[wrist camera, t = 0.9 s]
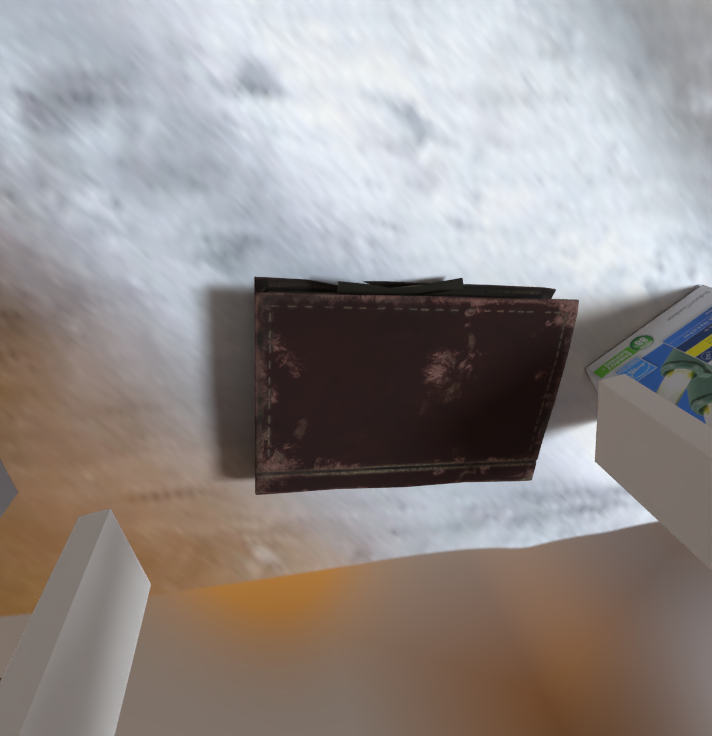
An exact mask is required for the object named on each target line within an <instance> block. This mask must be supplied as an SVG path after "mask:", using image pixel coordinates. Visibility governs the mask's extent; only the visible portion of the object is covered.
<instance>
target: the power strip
mask: <svg viewBox="0 0 712 736" xmlns="http://www.w3.org/2000/svg"><path fill="white" fill-rule="evenodd" d="M17 493H18V492H17V490H16V488H15V486H14V484H13V483H12V481H11V479H10V477H9V475H8V473H7V471H6V470H5V468H4V466H3V464H2V462H1V460H0V517H1V516H2V514H3V513H4V512H5V510H6V509H7V507H8V506H9V505H10V503H11V502H12V500H13V499H14V498H15V496H16V495H17Z"/></svg>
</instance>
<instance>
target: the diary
mask: <svg viewBox="0 0 712 736" xmlns="http://www.w3.org/2000/svg"><path fill="white" fill-rule="evenodd" d="M362 282H365V283H368V284H360V283H350V282H339V281H338V286H337V285H332V284H327V283H322V282H317V281H312V280H306V279H287V278H269V277H255V494H256V495H262V494H276V493H290V492H303V491H316V490H329V489H354V488H389V487H412V486H424V485H436V484H448V483H461V482H497V481H530V480H532V477H533V473H534V470H535V466H536V460H537V459H538V455H539V451H540V448H541V444H542V440H543V437H544V434H545V431H546V428H547V424H548V421H549V418H550V415H551V412H552V409H553V406H554V403H555V399H556V395H557V392H558V388H559V385H560V381H561V377H562V374H563V370H564V366H565V363H566V359H567V355H568V351H569V346H570V342H571V338H572V334H573V329H574V325H575V321H576V317H577V312H578V303H579V300H568V299H551V298H552V296H553V294H554V293H555V291H556V289H551V288H541V287H521V286H500V285H474V284H463V278H459V279H453V280H447V281H442V282H436V283H405V282H387V281H362ZM370 284H371V285H370Z"/></svg>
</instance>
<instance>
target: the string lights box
mask: <svg viewBox="0 0 712 736" xmlns="http://www.w3.org/2000/svg"><path fill="white" fill-rule="evenodd" d="M586 372H587V374H588V376H589V378H590V380H591V382H592V383H593V385H594V387H595V389H596V391H597V392H599V381H600V380H603V379H607V378H611V377H615V376H619V375H623V374H626V375H628V376H629V377H631V378H632V379H634V380H636V381H637V382H639V383H640V384H642V385H644V386H645V387H647V388H648V389H650V390H652V391H653V392H655V393H657V394H658V395H660V396H661V397H663V398H665V399H666V400H668V401H669V402H671V403H673V404H674V405H676V406H677V407H679V408H681V409H682V410H684V411H686V412H687V413H689V414H690V415H692V416H694V417H695V418H697V419H698V420H700V421H702V422H703V423H705V424H706V425H708V426H710V427H711V428H712V288H711V287H708V286H705V285H702V286H700V287H699V288H697V289H696V290H694V291H693V292H692V293H690V294H689V295H687V296H686V297H685V298H683V299H682V300H680V301H679V302H678V303H676V304H675V305H673V306H672V307H671V308H669V309H668V310H666V311H665V312H664V313H662V314H661V315H659V316H658V317H656V318H655V319H654V320H652V321H651V322H649V323H648V324H647V325H645V326H644V327H642V328H641V329H640V330H638V331H637V332H635V333H634V334H633V335H631V336H630V337H628V338H627V339H626V340H624V341H623V342H621V343H620V344H619V345H617V346H616V347H614V348H613V349H612V350H610V351H609V352H607V353H606V354H605V355H603V356H602V357H600V358H599V359H598V360H596V361H595V362H593V363H592V364H591V365H589V366H588V367H587V368H586Z"/></svg>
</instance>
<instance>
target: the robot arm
mask: <svg viewBox="0 0 712 736" xmlns="http://www.w3.org/2000/svg"><path fill="white" fill-rule="evenodd" d="M595 462H596V463H597V464H598V465H599V466H601V467H602V468H603V469H604V470H605V471H606V472H607V473H608V474H609V475H610V476H611V477H612V478H613V479H614V480H616V481H617V482H618V483H619V484H620V485H621V486H622V487H623V488H624V489H625V490H626V491H627V492H628V493H629V494H630V495H632V496H633V497H634V498H635V499H636V500H637V501H638V502H639V503H640V504H641V505H642V506H643V507H644V508H645V509H647V510H648V511H649V512H650V513H651V514H652V515H653V516H654V517H655V518H656V519H657V520H658V521H659V522H660V523H662V524H663V525H664V526H665V527H666V528H667V529H668V530H669V531H670V532H671V533H672V534H673V535H674V536H675V537H677V538H678V539H679V540H680V541H681V542H682V543H683V544H684V545H685V546H686V547H687V548H688V549H689V550H690V551H692V552H693V553H694V554H695V555H696V556H697V557H698V558H699V559H700V560H701V561H702V562H703V563H704V564H705V565H707V566H708V567H709V568H710V569H711V570H712V428H711V427H710V426H708V425H706V424H705V423H703V422H702V421H700V420H698V419H697V418H695V417H694V416H692V415H690V414H689V413H687V412H686V411H684V410H682V409H681V408H679V407H677V406H676V405H674V404H673V403H671V402H669V401H668V400H666V399H665V398H663V397H661V396H660V395H658V394H657V393H655V392H653V391H652V390H650V389H648V388H647V387H645V386H644V385H642V384H640V383H639V382H637V381H636V380H634V379H632V378H631V377H629V376H628V375H626V374H623V375H619V376H615V377H611V378H607V379H603V380H600V381H599V392H598V411H597V431H596V451H595ZM150 586H151V584H150V582H149V580H148V578H147V576H146V574H145V572H144V570H143V569H142V567H141V565H140V563H139V561H138V559H137V557H136V555H135V554H134V552H133V550H132V548H131V546H130V544H129V542H128V540H127V539H126V537H125V535H124V533H123V531H122V529H121V527H120V525H119V524H118V522H117V520H116V518H115V516H114V514H113V512H112V510H111V509H106V510H102V511H99V512H95V513H91V514H87V515H83V516H80V517H79V518H78V520H77V522H76V524H75V526H74V528H73V530H72V532H71V534H70V536H69V539H68V541H67V543H66V545H65V547H64V549H63V551H62V553H61V555H60V557H59V559H58V561H57V564H56V566H55V568H54V570H53V572H52V574H51V576H50V578H49V580H48V582H47V584H46V586H45V589H44V591H43V593H42V595H41V597H40V599H39V601H38V603H37V605H36V607H35V609H34V611H33V614H32V616H31V618H30V620H29V622H28V624H27V626H26V628H25V630H24V632H23V634H22V636H21V639H20V641H19V643H18V645H17V647H16V649H15V651H14V653H13V656H12V657H11V659H10V662H9V664H8V666H7V668H6V670H5V672H4V674H3V676H2V678H0V736H114V735H115V730H116V727H117V723H118V718H119V714H120V710H121V706H122V702H123V698H124V694H125V690H126V685H127V681H128V677H129V673H130V669H131V665H132V661H133V656H134V652H135V648H136V643H137V640H138V636H139V631H140V627H141V623H142V619H143V615H144V611H145V607H146V603H147V599H148V594H149V590H150Z"/></svg>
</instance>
